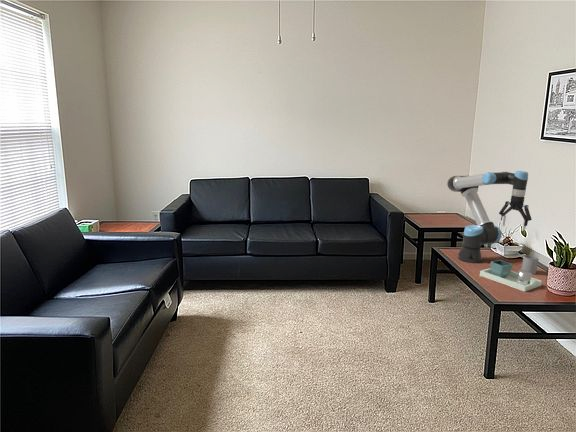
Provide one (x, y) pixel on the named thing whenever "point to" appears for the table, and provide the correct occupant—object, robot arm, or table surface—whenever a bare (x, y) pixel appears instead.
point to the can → (523, 277)
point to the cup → (530, 263)
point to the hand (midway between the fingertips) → (512, 228)
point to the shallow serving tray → (511, 280)
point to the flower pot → (500, 268)
